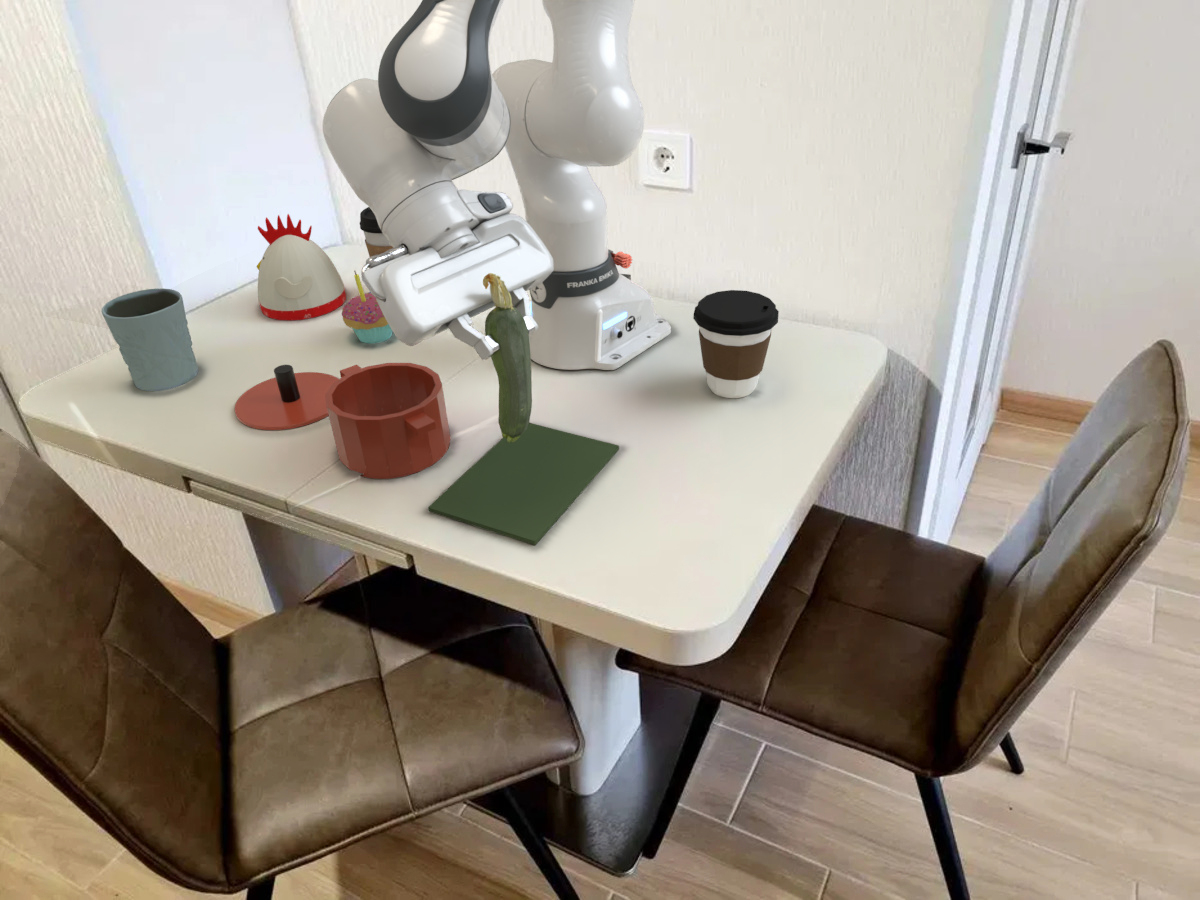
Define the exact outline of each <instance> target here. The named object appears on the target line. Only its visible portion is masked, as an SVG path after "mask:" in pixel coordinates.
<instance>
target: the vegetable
mask: <svg viewBox="0 0 1200 900" xmlns="http://www.w3.org/2000/svg"><path fill="white" fill-rule="evenodd" d="M500 278H501V277H500V276H497V275H496V274H493V273H489V274H487V275H486V276H485V277H484V279H483V285H484V286H485V289H487V287H488V286H489V283H490V293H491V298H492V301H493V302H494V303H495V305H494V307H493V309H492V310H490V311H489V313H487V315H486V317H485V321H484V334H485V335H484V336H487V335H490V334H492V336H493V337H494V338H495V342H497V343H498V344H499V346H500V350H499V351H498V352H497V353H496V354H495V355H493V356H491V357H490V359H491V361H492V365H493V368H494V369H495V372H496V375H497V379H498V419H497V420H498V421H497V422H498V425H499V429H500V431H501V436H502V438H503V437H504V438H507V441H508V442H509V443H510V442H514V441H516V440H517V439H518V438H519V436H520V435H521V434H522V433H523V432H524V431H525V430H526V429H527V427H528V425H529V423H530V421H531V414H532V407H533V404H532V403H533V393H532V392H533V391H532V389H533V388H532V387H533V385H532V383H533V381H532V364H531V362H532V361H531V360H532V359H531V353H530V343H529V334H528V329H527V325H526V322H525V319H524V317H523V316H522V314H521V313H520V312H519V311H518V309H516V308H515V307H513V304H512V298H511V295H510V293H509V292H508V290H507V287H506V286H505V284H504V281H502V280H501V279H500ZM488 282H489V283H488Z"/></svg>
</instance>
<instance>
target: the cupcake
mask: <svg viewBox="0 0 1200 900" xmlns="http://www.w3.org/2000/svg"><path fill="white" fill-rule="evenodd" d="M353 272H354V275H353V276H354V280H355V284H356V287H357V290H358V294H359V295H356V296H353V297H351V298H350V299H349V300H348V301H346V303H345V304H344V305H343V307H342V310H341V316H342V321H343V323H344V324H345V326H346V327H348V328H351V329H352V331H353V332H354V333H355V335H356V337H357V338H358V340H359V341H360V342H361V343H363V344H370V345H371V344H379V343H382V342H386V341H387V340H389V339H391V337H392V335H393V331H392V329H391V327H390V326H389V324H388V322H387V320H386V319H385V317H384V315H383V313H382V311H381V309H380V307H379V304H378V302H377V300H376V297H374V296H373V295H372V294H371V292H370V291H368V292H365V291H364V288H363V284H362V281H361V277H360V275H359V274H358V273H357V270H353Z"/></svg>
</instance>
